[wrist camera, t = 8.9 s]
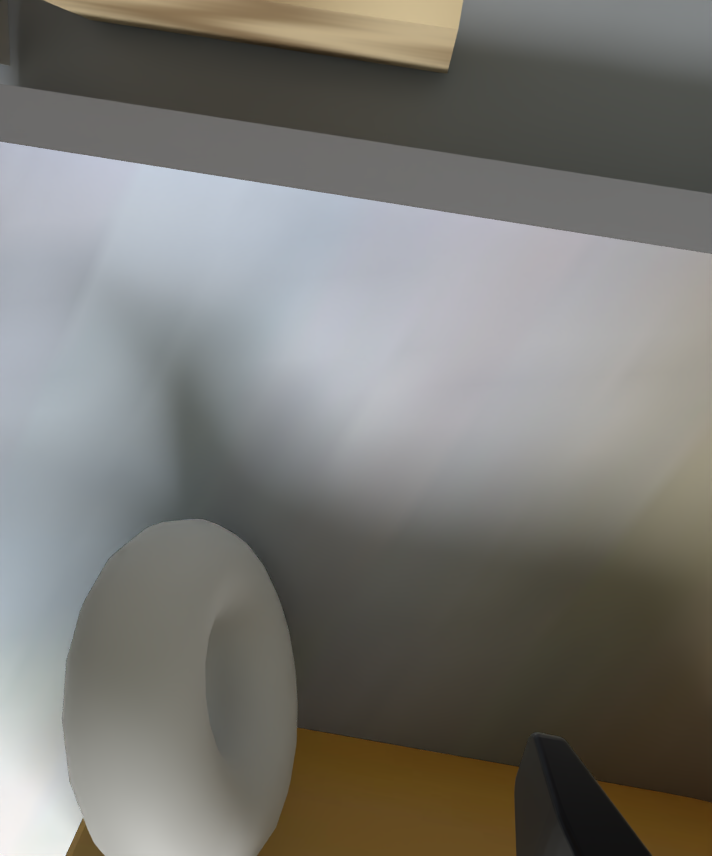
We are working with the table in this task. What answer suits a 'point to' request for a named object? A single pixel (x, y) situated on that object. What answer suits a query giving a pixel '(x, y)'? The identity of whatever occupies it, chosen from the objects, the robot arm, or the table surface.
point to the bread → (432, 806)
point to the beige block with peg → (302, 25)
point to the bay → (402, 112)
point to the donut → (181, 697)
